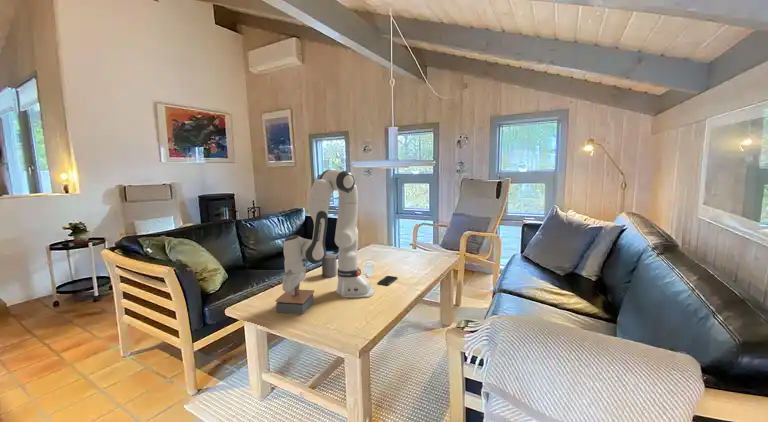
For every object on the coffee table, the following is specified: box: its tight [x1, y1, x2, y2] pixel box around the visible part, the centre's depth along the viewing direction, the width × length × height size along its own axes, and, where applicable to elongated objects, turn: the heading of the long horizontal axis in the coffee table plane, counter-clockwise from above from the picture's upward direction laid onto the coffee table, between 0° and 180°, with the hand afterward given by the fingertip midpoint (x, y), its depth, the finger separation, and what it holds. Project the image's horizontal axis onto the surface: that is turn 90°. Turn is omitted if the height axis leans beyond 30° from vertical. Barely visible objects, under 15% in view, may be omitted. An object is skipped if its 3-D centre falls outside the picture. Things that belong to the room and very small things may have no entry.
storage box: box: [275, 293, 315, 315], centre depth 173 cm, size 14×14×6 cm
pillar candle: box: [321, 253, 338, 279], centre depth 222 cm, size 10×10×15 cm
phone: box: [376, 275, 398, 287], centre depth 212 cm, size 8×1×15 cm
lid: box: [275, 286, 315, 304], centre depth 173 cm, size 15×15×5 cm
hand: (295, 293), depth 173 cm, fingers closed on lid, 3 cm apart
